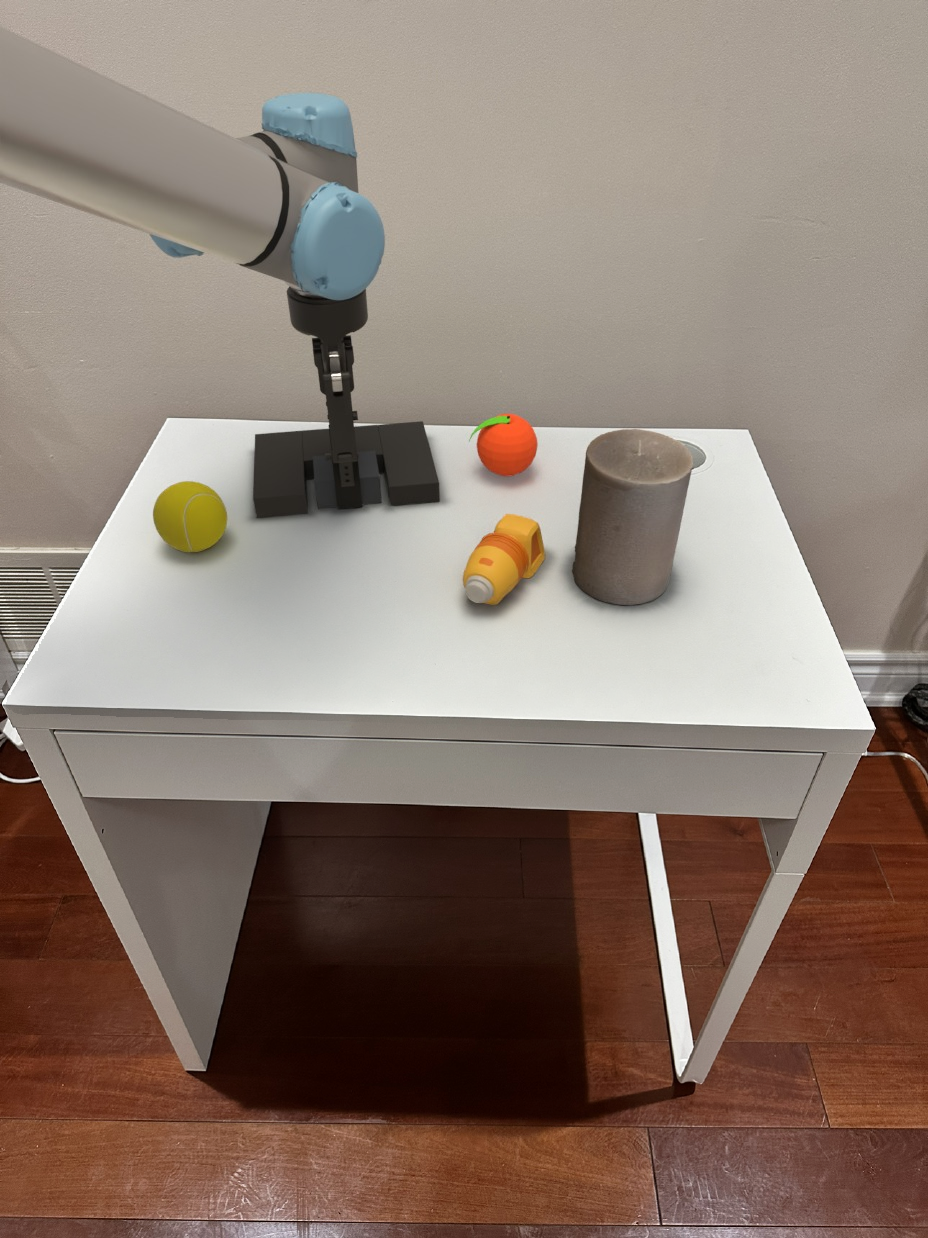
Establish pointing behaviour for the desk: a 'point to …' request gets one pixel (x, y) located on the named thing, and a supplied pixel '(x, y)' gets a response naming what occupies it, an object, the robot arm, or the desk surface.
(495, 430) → the clementine
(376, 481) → the dark grey rectangular block
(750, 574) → the desk surface
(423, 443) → the black u-shaped block
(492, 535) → the yellow toy drill
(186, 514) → the tennis ball
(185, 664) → the desk surface
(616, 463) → the pillar candle
